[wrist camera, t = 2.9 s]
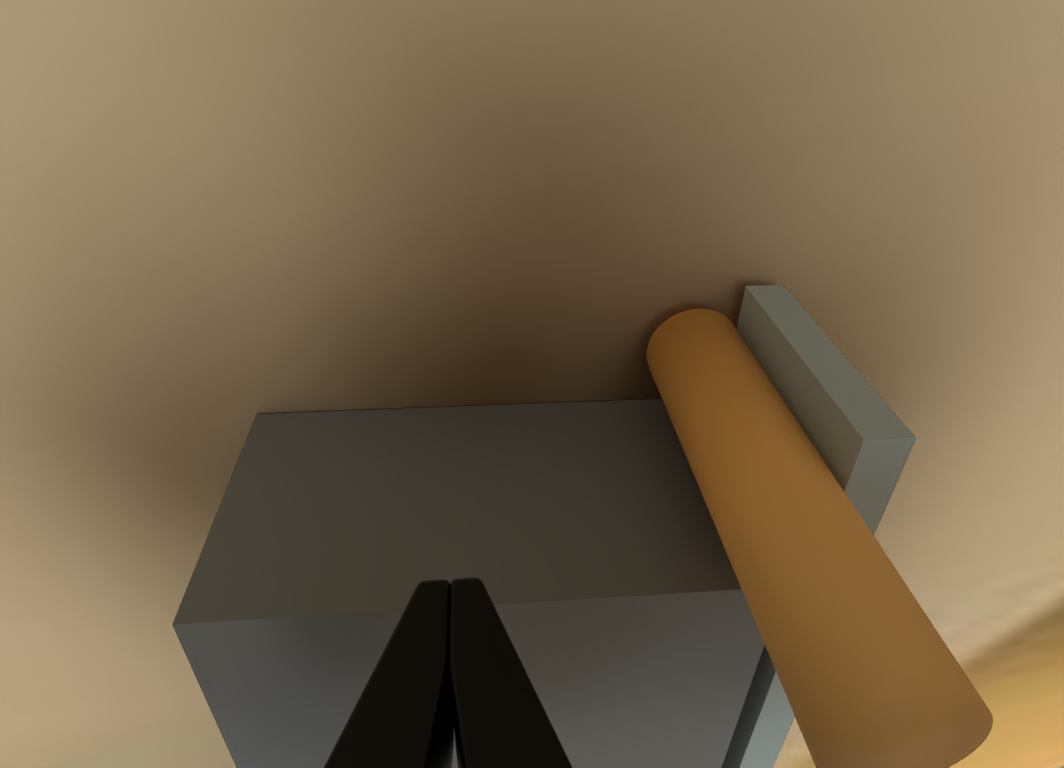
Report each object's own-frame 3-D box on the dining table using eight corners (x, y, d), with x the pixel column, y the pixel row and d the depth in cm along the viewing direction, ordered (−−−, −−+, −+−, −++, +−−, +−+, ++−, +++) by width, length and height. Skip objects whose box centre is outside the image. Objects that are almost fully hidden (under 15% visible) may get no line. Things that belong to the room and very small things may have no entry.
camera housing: (630, 731, 24) (669, 916, 20) (345, 753, 24) (319, 952, 19) (693, 398, 16) (785, 586, 12) (256, 413, 15) (172, 624, 11)
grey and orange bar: (671, 727, 24) (761, 1070, 17) (595, 732, 24) (653, 1083, 17) (783, 284, 14) (1106, 656, 7) (655, 288, 14) (857, 674, 7)
